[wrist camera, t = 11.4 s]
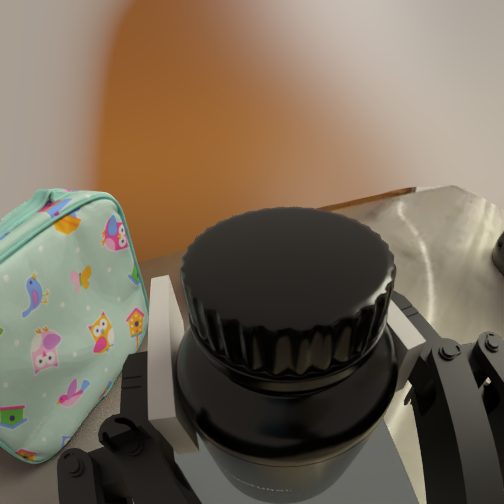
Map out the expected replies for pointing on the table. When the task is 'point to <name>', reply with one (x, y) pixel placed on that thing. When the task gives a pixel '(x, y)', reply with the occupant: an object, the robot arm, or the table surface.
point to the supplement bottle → (286, 347)
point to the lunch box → (63, 315)
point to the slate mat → (331, 500)
